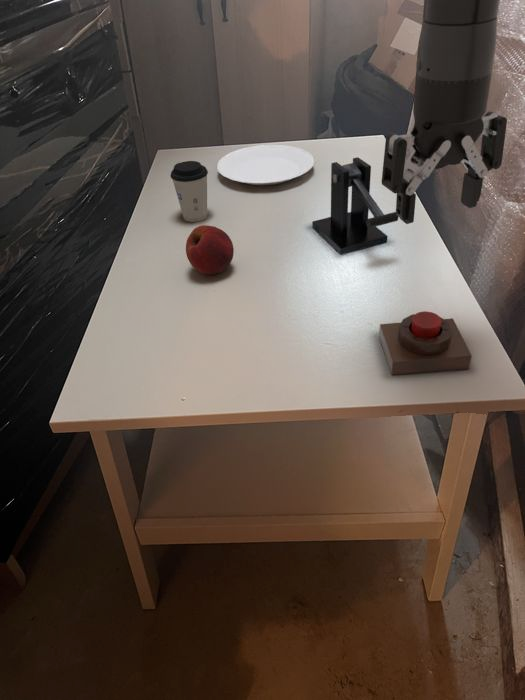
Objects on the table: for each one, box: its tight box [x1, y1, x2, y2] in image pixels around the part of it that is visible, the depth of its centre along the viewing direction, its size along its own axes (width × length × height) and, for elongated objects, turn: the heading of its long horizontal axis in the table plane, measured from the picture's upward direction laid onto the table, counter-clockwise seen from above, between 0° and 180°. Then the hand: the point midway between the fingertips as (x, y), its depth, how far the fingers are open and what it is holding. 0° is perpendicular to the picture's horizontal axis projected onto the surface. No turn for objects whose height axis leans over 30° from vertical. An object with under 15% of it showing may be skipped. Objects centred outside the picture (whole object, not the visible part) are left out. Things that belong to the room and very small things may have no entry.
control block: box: [378, 313, 473, 376], centre depth 77 cm, size 10×8×4 cm
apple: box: [185, 224, 235, 276], centre depth 95 cm, size 7×8×8 cm
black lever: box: [341, 162, 399, 228], centre depth 94 cm, size 13×5×2 cm, turn 22°
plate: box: [216, 144, 315, 186], centre depth 126 cm, size 21×21×2 cm
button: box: [411, 310, 442, 339], centre depth 75 cm, size 4×4×2 cm
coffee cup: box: [170, 160, 209, 223], centre depth 110 cm, size 7×7×10 cm
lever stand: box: [311, 156, 388, 255], centre depth 100 cm, size 11×9×13 cm
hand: (437, 212), depth 70 cm, fingers open, 8 cm apart
